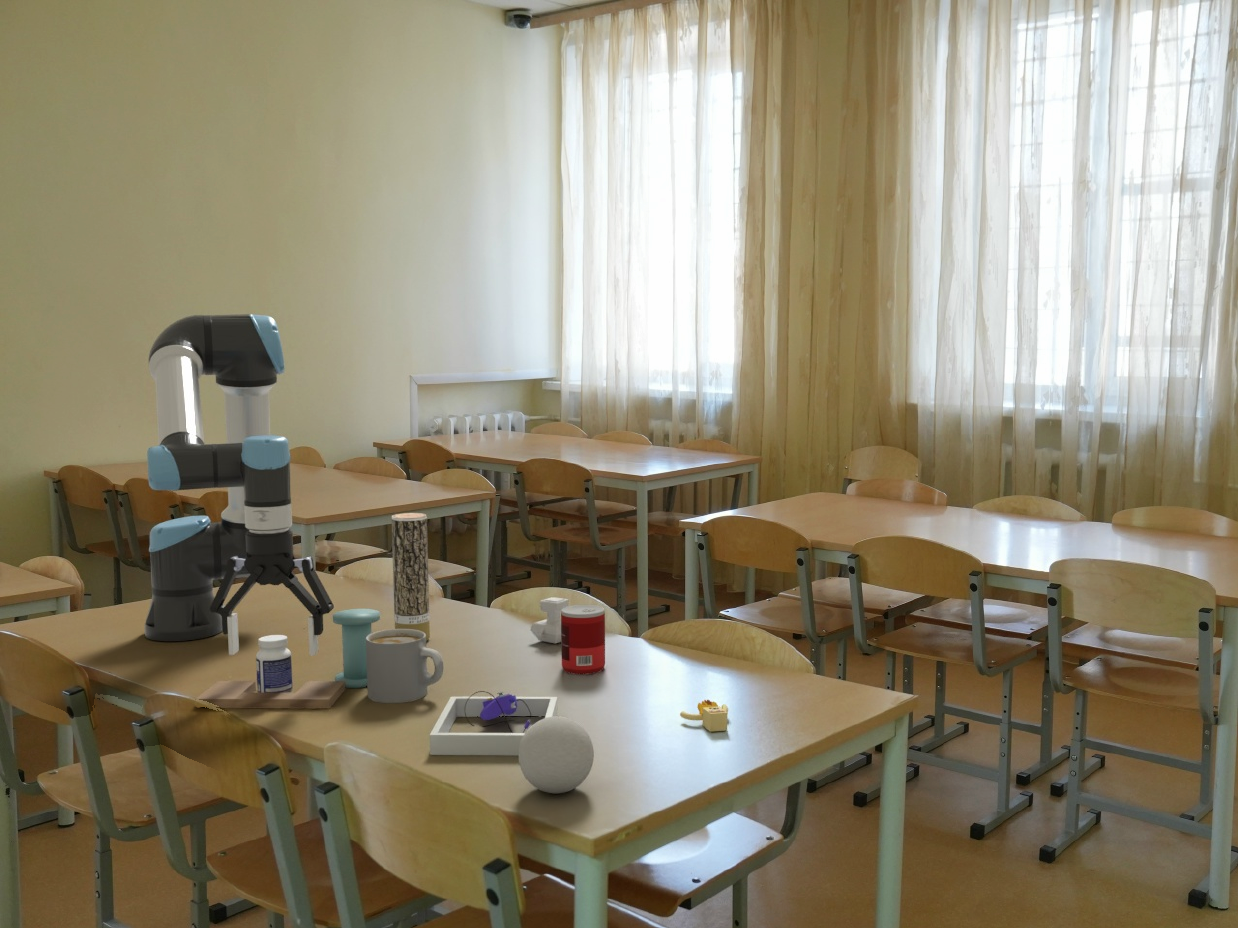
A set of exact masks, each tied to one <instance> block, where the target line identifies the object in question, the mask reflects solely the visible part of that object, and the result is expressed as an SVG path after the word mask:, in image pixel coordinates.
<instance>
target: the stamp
mask: <svg viewBox="0 0 1238 928" xmlns="http://www.w3.org/2000/svg"><path fill="white" fill-rule="evenodd" d="M569 602H570V599H568V598H561V597H554V596H551V597H548V598H544V599H541V600H540V601H539V605H540V606H539V607H540V610H541V612H543V613H546V615H547V616H546V618H545V619H542V620H538V621H535V622H534V623H532V624H531V626H530V631H531V633H532V634H533V635H534V636H535V638H536V639H537V640H538V641H541V642H545V643H550V644H557V643H561V610H562V609H563V608H565V607H567V606H569Z"/></svg>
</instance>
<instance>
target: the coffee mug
mask: <svg viewBox="0 0 1238 928" xmlns="http://www.w3.org/2000/svg"><path fill="white" fill-rule="evenodd" d="M366 658H367V698H368V699H369V700H371V701H373V702H377V703H383V704H399V703H400V704H401V703H408V702H413V701H417V700H420V699H422V698H424V697H425V696H426V695H427V694H428V686H431V685H433V684H436V683H437V682H439V681H440V680H441V678H442V676H443V673H444V661H443V657H442V655H441V654H440V652H439V651H438V650H435V648H434V649H433V648H431V647H428V648H427V641H426V634H425V633H424V632H422V631H418V630H413V629H395V628H392V629H390V628H389V629H383V630H379V631H374V632H372V634H370V635H368V636H367V637H366ZM428 658H430V659H431V660H432V662H433V666H434V672H433V674H430V673H429V670H428V667H427V665H428V664H427V661H428Z"/></svg>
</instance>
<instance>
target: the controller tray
mask: <svg viewBox="0 0 1238 928" xmlns="http://www.w3.org/2000/svg"><path fill="white" fill-rule="evenodd" d="M469 697H470V696H450V698H448V699H449V700H448V701H447V702H446V705H445V706H444V708H443V710H442V712H441V714H440V715H439V717H438V720H437V721H436V723H435V725H434V726H433V729H431V732H430V733H429V755H430V756H519V747H520V743H521V740H522V738H523V736H524V734H525V733H526V732H524V733H523V732H512V733H511V732H450V731H451V729H452V727H453V725H454V723H455V721H456V719H457V718H460V717H461V718H466V717H467V718H478V717H479V718H481V717H480V714H481V711H482V710H483V708H484V706H483V702H484V701H486V700H487V699H488V698H492V699H495V698H496V697H497V696H494V697H495V698H494V697H493V696H471V697H470V698H469ZM468 698H469V699H468ZM518 699H521V700H523V701H524V702H525V703H526V704H527V706H528V707H527V706H526V704H525V703H524V702H523V701H521V700H518ZM467 700H468V701H467ZM516 700H518V701H517V709H516V711H515V712H514V713H513V714H511V715H506V714H504V715H505V716H530V712H531V716H545V717H544V718H547V717H553V716H557V715H558V713H559V712H558V697H557V696H516ZM466 702H467V703H466ZM465 704H466V707H465ZM528 708H529V709H528ZM529 710H530V712H529ZM465 713H466V716H465ZM504 715H503V713H502V714H501V715H499V716H500V717H499V716H498V717H497V718H503V717H502V716H504ZM477 716H478V717H477Z"/></svg>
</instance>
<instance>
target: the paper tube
mask: <svg viewBox="0 0 1238 928" xmlns="http://www.w3.org/2000/svg"><path fill="white" fill-rule="evenodd" d="M391 540H392V541H391V543H392V544H391V547H392V551H391V552H392V575H393V576H392V577H393V578H392V579H393V580H392V581H393V609H394V610H393V612H394V613H393V614H394V629H413V630H418V631H422V632H424V633H425V634H426V642H428V640H429V639H430V638H431V633H430V632H431V629H430V589H429V588H430V585H429V552H428V551H429V547H428V542H429V541H428V517H427V514H425V513H421V512H404V513H395V514H393V515H391Z"/></svg>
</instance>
